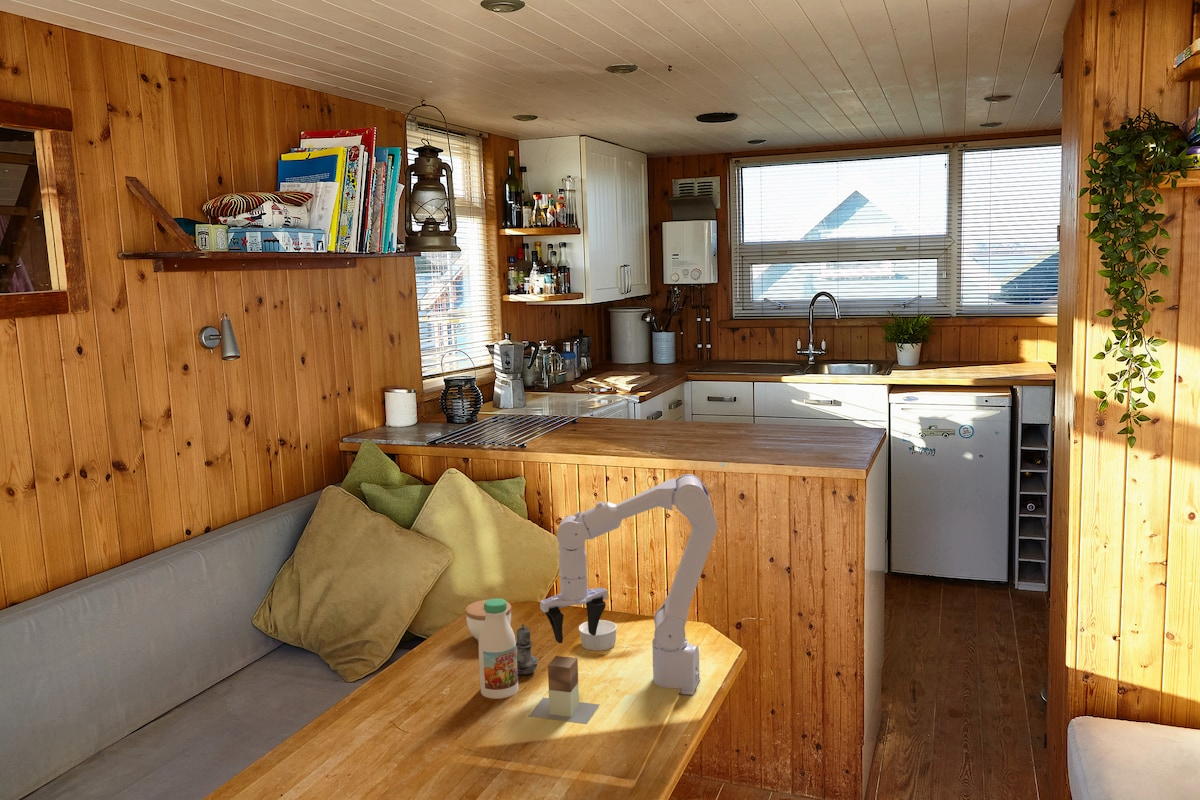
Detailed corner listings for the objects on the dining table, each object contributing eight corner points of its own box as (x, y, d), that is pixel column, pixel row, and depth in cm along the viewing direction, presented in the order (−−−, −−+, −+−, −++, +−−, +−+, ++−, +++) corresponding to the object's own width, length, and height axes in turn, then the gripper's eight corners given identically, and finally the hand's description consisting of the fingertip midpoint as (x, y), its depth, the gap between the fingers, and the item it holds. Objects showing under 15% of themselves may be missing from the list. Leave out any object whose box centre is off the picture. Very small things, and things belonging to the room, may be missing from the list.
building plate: (599, 709, 186) (599, 704, 186) (587, 728, 178) (586, 723, 178) (543, 702, 189) (543, 697, 189) (528, 721, 182) (528, 716, 182)
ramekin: (574, 650, 214) (573, 632, 213) (585, 635, 223) (585, 618, 222) (611, 654, 212) (610, 635, 211) (621, 638, 220) (621, 621, 219)
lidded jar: (521, 634, 224) (520, 597, 222) (493, 651, 215) (491, 612, 213) (486, 626, 229) (484, 589, 228) (457, 642, 221) (455, 604, 219)
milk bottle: (473, 698, 192) (468, 605, 189) (494, 683, 199) (490, 592, 196) (505, 706, 188) (500, 611, 185) (525, 690, 195) (521, 598, 192)
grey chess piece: (535, 683, 198) (532, 629, 196) (508, 681, 199) (505, 628, 197) (542, 671, 204) (539, 618, 202) (516, 669, 205) (513, 617, 203)
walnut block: (578, 682, 184) (577, 658, 184) (570, 692, 180) (569, 667, 179) (556, 679, 186) (555, 655, 185) (548, 689, 182) (547, 665, 181)
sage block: (578, 706, 185) (578, 682, 184) (571, 717, 181) (570, 692, 180) (557, 703, 186) (556, 679, 186) (549, 714, 182) (548, 690, 182)
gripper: (549, 587, 186) (551, 652, 188) (613, 574, 193) (615, 636, 195) (535, 576, 193) (537, 639, 195) (598, 564, 199) (600, 625, 201)
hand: (575, 637), depth 195 cm, fingers open, 7 cm apart
